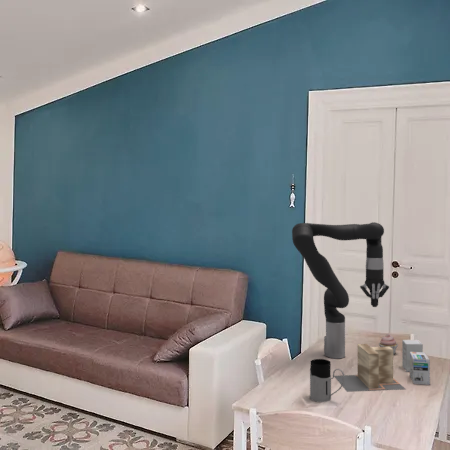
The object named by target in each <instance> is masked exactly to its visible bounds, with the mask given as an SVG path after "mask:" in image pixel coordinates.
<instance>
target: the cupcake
mask: <svg viewBox="0 0 450 450" xmlns="http://www.w3.org/2000/svg"><path fill="white" fill-rule="evenodd" d="M378 345H379V346H378V347H391V348H392V349H393V356H394V355H395V354H396V352H397V351H396V350H397V349H398V346H399V344H398V343H397V340H396V339H395V338H394V336H393V335H392V334H389V333H388V334H386V335H385V336H382V337H381V339H380V342H379V343H378Z"/></svg>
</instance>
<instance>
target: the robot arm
mask: <svg viewBox="0 0 450 450" xmlns="http://www.w3.org/2000/svg"><path fill="white" fill-rule="evenodd" d="M384 234H385V228H384V226H383V225H382V224H381V223H378V222H373V221H372V222H370V223H364V224H362V223H361V224H359V223H352V224H351V223H350V224H323V223H309V222H301V223H296V224H295V225H294V226H293V227H292V229H291V237H292V238H291V239H292V243H293V244H292V245H294V248H295V249H297V251H298V253H300V255H301V256H302V258H303V259H304V261H305V263H306V265H307V267H308V269H309V271H310V272H311V274H312V276H313V277H314V279H315V280H316V281H317V282H318V283H319V284H321V285H322V287H323V286H324V287H325V288H326V289H325V291H324V294H323V308H324V309H323V310H324V311H323V312H324V316H325V336H324V337H323V343H324V344H323V347H324V348H323V352H324V353H323V356H324V355H325V356H324V357H327V358H331V359H343V358H345V357H346V317H345V314H343V313H341V312H340V311H339V310H338V309H344V308H347V307H348V305H349V302H350V296H349V294H348V291H347V290H346V288H345V287H344V286H343V284H342V283H341V282H340V280H339V278H338V276H337V275H336V274H335V271H334V269H333V268H332V266H331V264H330V263H329V260H328V259H327V258H326V257H325V256H324V255H323V254H321V253H320V251H319V250H318V248H317V246H316V243H315V241H314V237H326V238H327V237H328V238H330V239H333V240H337V241H358V240H366V241H365V242H366V252H365V253H366V256H365V257H366V258H365V281H364V284H363V285H360V286H359V288H360V289H361V290H362V292H363V293H364V294H365V296H366V297H367V298H370V305H371V306H372V307H373V308H377V307H378V305H379V298H383V297H384V295H385V294H386V293H387V291H388V290H389V289H390V285H388V284H386V283H385V279H384V247H383V245H382V237H383V236H384ZM368 290H369V291H368Z"/></svg>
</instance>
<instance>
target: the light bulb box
mask: <svg viewBox="0 0 450 450" xmlns="http://www.w3.org/2000/svg"><path fill="white" fill-rule="evenodd" d="M430 362H431V359H430V358H429V356H428V354H427V353H426V352H424V351H423V352H410V372H409V376H410V378H411V380H412V381H411V382H412V383H413V385H427V386H428V385H430V384H431V383H430V382H431V379H430V378H431V377H430V375H431V373H430V371H431V370H430V369H431V367H430V365H431V363H430Z"/></svg>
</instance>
